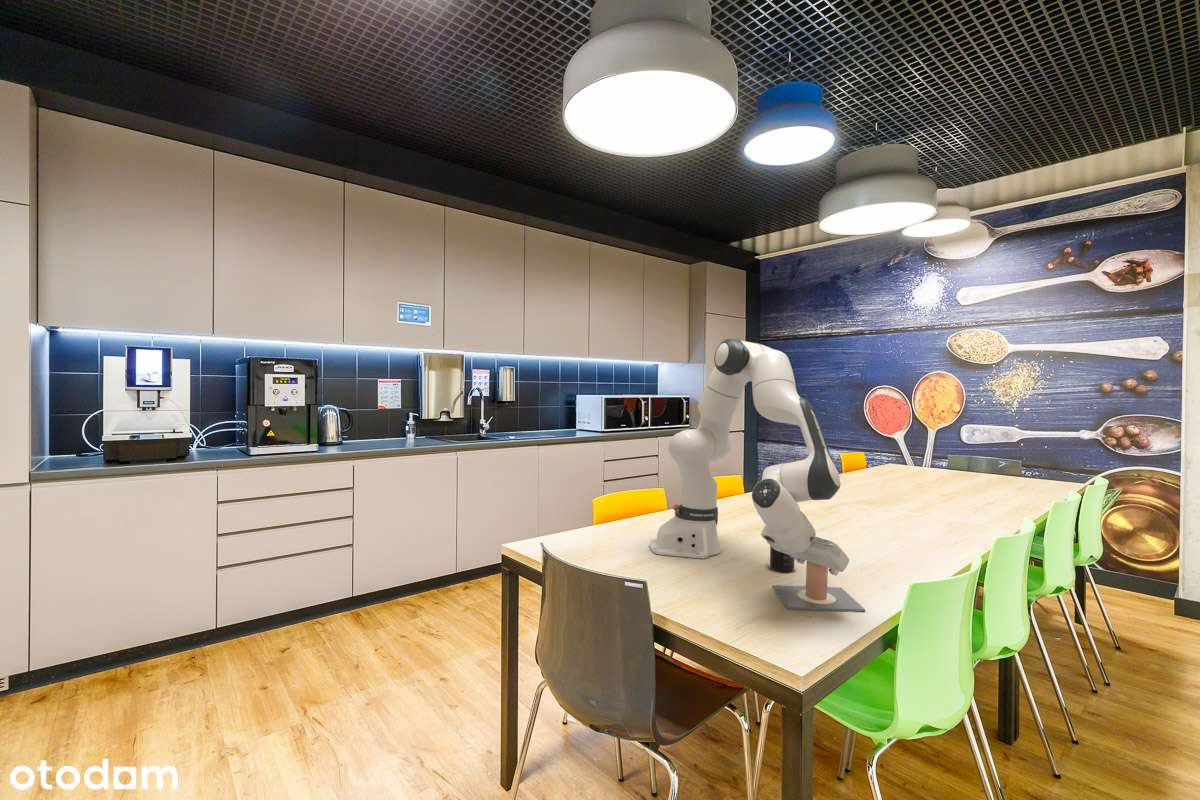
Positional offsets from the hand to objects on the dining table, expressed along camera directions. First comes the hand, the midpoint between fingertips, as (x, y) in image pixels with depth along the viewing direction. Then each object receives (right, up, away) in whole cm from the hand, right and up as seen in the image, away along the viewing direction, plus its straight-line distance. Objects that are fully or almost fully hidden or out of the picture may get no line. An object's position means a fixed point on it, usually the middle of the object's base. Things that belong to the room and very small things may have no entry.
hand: (818, 566), depth 137 cm
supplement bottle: (-2, -8, +22) cm, 23 cm away
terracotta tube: (-1, -7, 0) cm, 7 cm away
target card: (-1, -8, 0) cm, 8 cm away
